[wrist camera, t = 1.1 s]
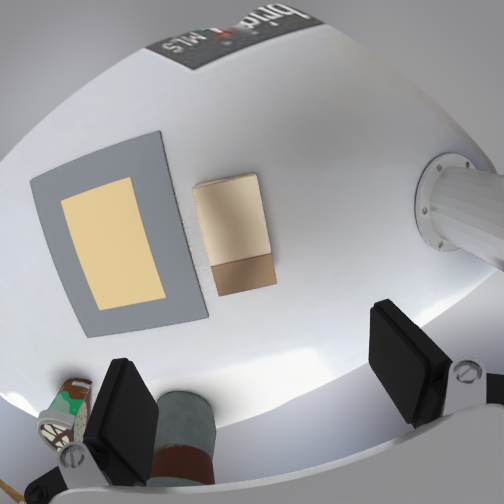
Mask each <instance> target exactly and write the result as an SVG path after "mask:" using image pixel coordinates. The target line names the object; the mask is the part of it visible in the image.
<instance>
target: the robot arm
mask: <svg viewBox="0 0 504 504" xmlns="http://www.w3.org/2000/svg"><path fill="white" fill-rule="evenodd" d="M416 219H417V224H418V227H419V231H420V233H421V235H422V237H423V238H424V240H425V241H426V242H427V243H428V244H429V245H430V246H432V247H433V248H435V249H437V250H439V251H443V252H451V251H454V250H457V249H459V248H462V249H464V250H466V251H467V252H469V253H471V254H473V255H475V256H477V257H479V258H480V259H482V260H484V261H486V262H488V263H489V264H491V265H493V266H495V267H497V268H498V269H500V270H502V271H503V272H504V176H503V175H499V174H494V173H490V172H485V171H480V170H476V168H475V166H474V165H473V164H472V162H471V161H470V160H468V159H467V158H466V157H464V156H462V155H459V154H453V153H449V154H443V155H441V156H439V157H437V158H436V159H434V160H433V161H432V162H431V163H430V164H429V165H428V167H427V168H426V170H425V172H424V173H423V175H422V178H421V180H420V182H419V186H418V190H417V195H416ZM369 364H370V366H371V368H372V370H373V371H374V373H375V374H376V376H377V377H378V379H379V380H380V382H381V383H382V385H383V387H384V388H385V390H386V391H387V393H388V394H389V396H390V397H391V399H392V400H393V402H394V404H395V405H396V407H397V408H398V410H399V412H400V413H401V415H402V417H403V418H404V420H405V421H406V423H408V424H410V423H411V424H412V425H413V427H414V428H415V430H413V431H411V432H409V433H406V434H404V435H402V436H399V437H397V438H395V439H392V440H390V441H388V442H385V443H383V444H380V445H378V446H375V447H373V448H370V449H367V450H365V451H362V452H359V453H356V454H354V455H351V456H348V457H345V458H342V459H339V460H336V461H333V462H329V463H326V464H322V465H319V466H315V467H311V468H308V469H304V470H299V471H295V472H292V473H287V474H282V475H277V476H272V477H267V478H262V479H255V480H249V481H243V482H235V483H226V484H217V485H205V486H189V487H146V483H147V480H149V479H150V477H151V469H152V460H153V453H154V445H155V438H156V431H157V424H158V417H159V408H158V405H157V403H156V402H155V400H154V398H153V397H152V395H151V393H150V392H149V390H148V388H147V387H146V385H145V383H144V381H143V380H142V378H141V376H140V374H139V372H138V371H137V369H136V367H135V365H134V363H133V362H132V361H129V360H128V359H127V358H119V359H113V360H112V361H111V363H110V366H109V368H108V371H107V373H106V376H105V378H104V381H103V383H102V386H101V388H100V391H99V393H98V396H97V399H96V401H95V404H94V407H93V409H92V412H91V415H90V418H89V420H88V423H87V426H86V429H85V432H84V435H83V438H84V439H83V442H78V441H73V442H69V443H67V444H65V445H64V446H63V447H62V448H61V449H60V450H59V452H58V455H57V463H58V466H57V467H55V468H54V469H52V470H51V471H49V472H48V473H46V474H44V475H43V476H41V477H40V478H38V479H36V480H35V481H33V482H32V483H30V484H29V485H28V486H27V488H26V490H25V493H24V498H25V503H24V502H22V501H21V502H20V503H19V504H504V375H499V374H490V373H486V369H485V367H484V365H483V364H482V363H481V362H480V361H479V360H477V359H475V358H471V357H462V358H459V359H457V360H455V361H454V362H453V361H452V360H451V359H450V358H449V357H448V356H447V355H446V354H445V353H444V352H443V351H442V350H441V349H440V348H439V347H438V346H437V345H436V344H435V343H434V342H433V341H432V340H431V339H430V338H429V337H428V336H427V335H426V334H425V333H424V332H423V331H422V330H421V329H420V328H419V327H418V326H417V325H416V324H414V323H413V322H412V321H411V320H410V319H409V318H408V317H407V316H406V315H405V314H404V313H403V312H402V311H401V310H400V309H399V308H398V307H397V306H396V305H395V304H394V303H393V302H392V301H391V300H389V299H385V300H382V301H379V302H376V303H374V307H372V308H371V309H370V339H369ZM424 424H425V425H424ZM422 425H423V426H422ZM420 426H421V427H420ZM417 427H419V428H417ZM416 428H417V429H416ZM134 486H140V487H134Z"/></svg>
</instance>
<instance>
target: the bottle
mask: <svg viewBox="0 0 504 504" xmlns="http://www.w3.org/2000/svg"><path fill="white" fill-rule="evenodd" d="M157 405H158V408H159V417H158V424H157V431H156V438H155V445H154V453H153V460H152V469H151V477H150V479H149V480H147V483H146V487H189V486H205V485H215V480H214V472H213V464H212V458H213V453H214V446H215V438H216V427H215V421H214V417H213V413H212V410H211V408H210V405H209V404H208V403H207V402H206V401H205V400H204V399H202V398H201V397H199V396H197V395H194V394H192V393H187V392H171V393H168V394H165V395H164V396H162V397H161V398H160V399H159V401H158V402H157Z"/></svg>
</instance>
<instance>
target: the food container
mask: <svg viewBox="0 0 504 504" xmlns="http://www.w3.org/2000/svg"><path fill="white" fill-rule="evenodd" d="M91 401H92V382H91V381H88V380H85V379H79V378H74V379H69V380H68V381H66V382H65V383H64V385H63V386H62V388H61V389H60V391H59V392H58V394H57V396H56V397H55V399H54V400H53V402H52V403H51V405H50V407H49V408H48V410H44V411H42V412H40V414H39V418H38V423H37V431H38V435H39V436H40V438H41V440H42V441H43V442H44V443H45V444H46V446H47V447H49V448H50V449H51V450H52V451H53V452H54V453H56V454H57V455H58V452H59V450H60V449H61V448H62V447H63V446H64V445H65V444H67V443H69V442H73V441H78V442H83V439H84V438H83V435H84V432H85V429H86V426H87V423H88V420H89V418H90V415H91Z"/></svg>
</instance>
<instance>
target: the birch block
mask: <svg viewBox="0 0 504 504" xmlns="http://www.w3.org/2000/svg"><path fill="white" fill-rule="evenodd" d="M192 193H193V197H194V202H195V206H196V210H197V214H198V218H199V222H200V226H201V230H202V234H203V238H204V242H205V246H206V249H207V253H208V257H209V261H210V265H211V269H212V273H213V277H214V281H215V284H216V288H217V291H218V295H219V296H224V295H229V294H233V293H238V292H243V291H247V290H252V289H256V288H261V287H265V286H270V285H274V284H277V280H276V274H275V269H274V263H273V258H272V253H271V248H270V243H269V237H268V232H267V227H266V221H265V216H264V211H263V206H262V200H261V195H260V190H259V185H258V180H257V175H255V174H254V173H252V172H251V173H247V174H242V175H237V176H232V177H228V178H223V179H219V180H214V181H210V182H205V183H201V184H197V185H195V186H194V187H193V189H192Z"/></svg>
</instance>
